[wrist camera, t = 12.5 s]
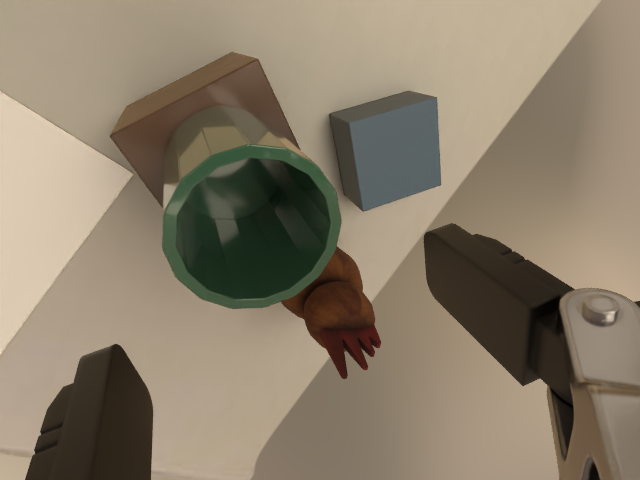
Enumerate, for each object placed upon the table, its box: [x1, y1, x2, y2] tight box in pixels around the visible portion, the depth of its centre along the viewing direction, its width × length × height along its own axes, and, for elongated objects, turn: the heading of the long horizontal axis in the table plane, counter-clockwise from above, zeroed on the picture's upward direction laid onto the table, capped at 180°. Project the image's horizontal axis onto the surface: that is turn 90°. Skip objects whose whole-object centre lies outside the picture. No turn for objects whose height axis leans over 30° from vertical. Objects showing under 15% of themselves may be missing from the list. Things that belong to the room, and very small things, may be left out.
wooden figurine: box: [281, 246, 381, 379], centre depth 30 cm, size 7×6×15 cm
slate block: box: [330, 91, 441, 211], centre depth 32 cm, size 7×7×4 cm
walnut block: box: [110, 52, 301, 208], centre depth 25 cm, size 8×8×9 cm
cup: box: [162, 106, 341, 309], centre depth 18 cm, size 6×6×8 cm
